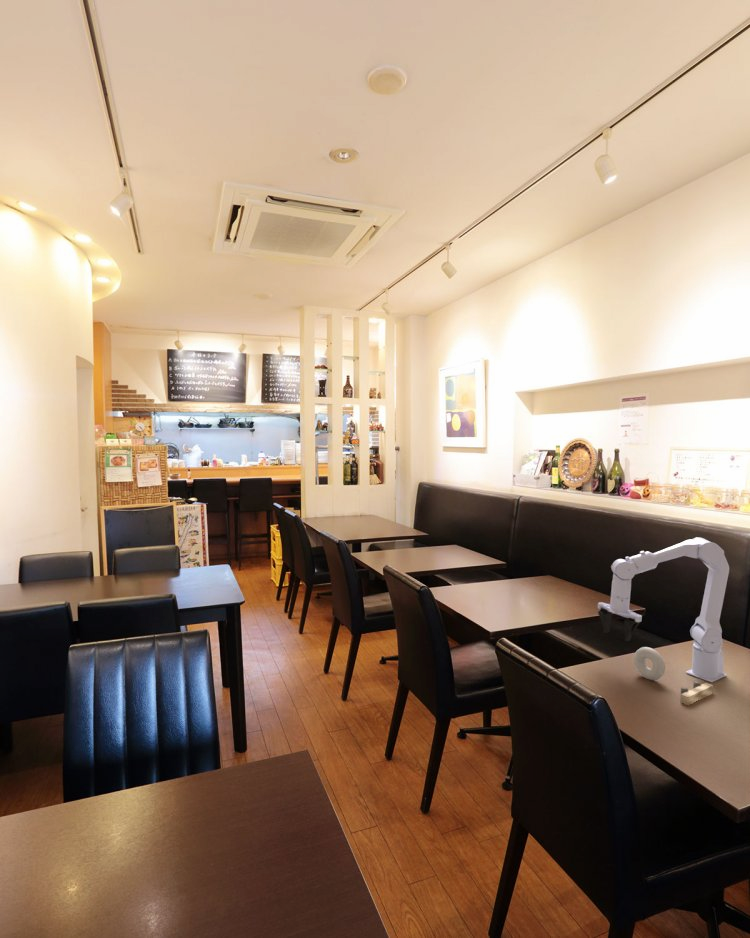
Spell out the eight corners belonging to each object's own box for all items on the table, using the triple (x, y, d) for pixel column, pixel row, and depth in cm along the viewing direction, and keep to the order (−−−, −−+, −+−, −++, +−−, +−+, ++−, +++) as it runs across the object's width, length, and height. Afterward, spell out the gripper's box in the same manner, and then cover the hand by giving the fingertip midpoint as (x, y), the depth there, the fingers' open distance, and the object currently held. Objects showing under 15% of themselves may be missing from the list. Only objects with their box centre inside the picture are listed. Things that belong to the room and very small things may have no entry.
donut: (667, 684, 162) (668, 652, 161) (660, 686, 160) (661, 654, 160) (637, 671, 171) (638, 641, 170) (630, 673, 169) (631, 643, 168)
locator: (699, 688, 159) (699, 678, 159) (712, 693, 156) (713, 683, 156) (674, 700, 152) (674, 690, 151) (687, 705, 148) (688, 695, 148)
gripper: (593, 591, 176) (590, 630, 177) (634, 604, 164) (630, 646, 165) (606, 588, 180) (602, 627, 181) (646, 601, 168) (643, 642, 168)
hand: (616, 636), depth 173 cm, fingers open, 7 cm apart
